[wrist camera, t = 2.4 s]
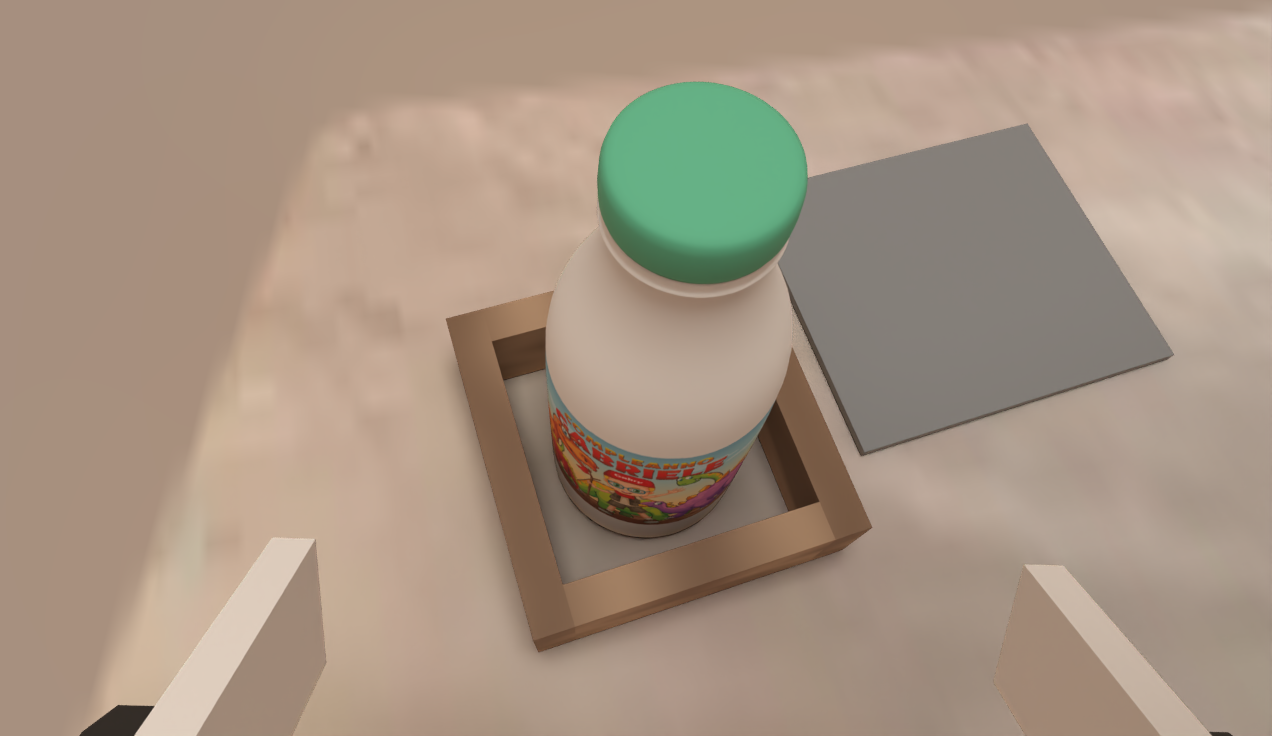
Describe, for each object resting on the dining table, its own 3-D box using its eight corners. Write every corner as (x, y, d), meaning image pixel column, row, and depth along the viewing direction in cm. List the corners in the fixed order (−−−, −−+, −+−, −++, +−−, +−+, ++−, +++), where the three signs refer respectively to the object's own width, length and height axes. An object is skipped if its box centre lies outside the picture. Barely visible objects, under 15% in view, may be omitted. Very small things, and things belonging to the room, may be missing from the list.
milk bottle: (559, 366, 38) (536, 10, 19) (730, 373, 38) (868, 30, 20) (548, 538, 34) (509, 308, 16) (735, 544, 35) (905, 325, 16)
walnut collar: (730, 287, 40) (745, 241, 36) (841, 550, 35) (872, 527, 31) (459, 360, 37) (445, 318, 34) (538, 652, 33) (533, 641, 29)
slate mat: (1022, 129, 45) (1027, 123, 44) (1167, 359, 39) (1174, 354, 39) (744, 198, 42) (746, 193, 41) (861, 456, 37) (864, 452, 36)
